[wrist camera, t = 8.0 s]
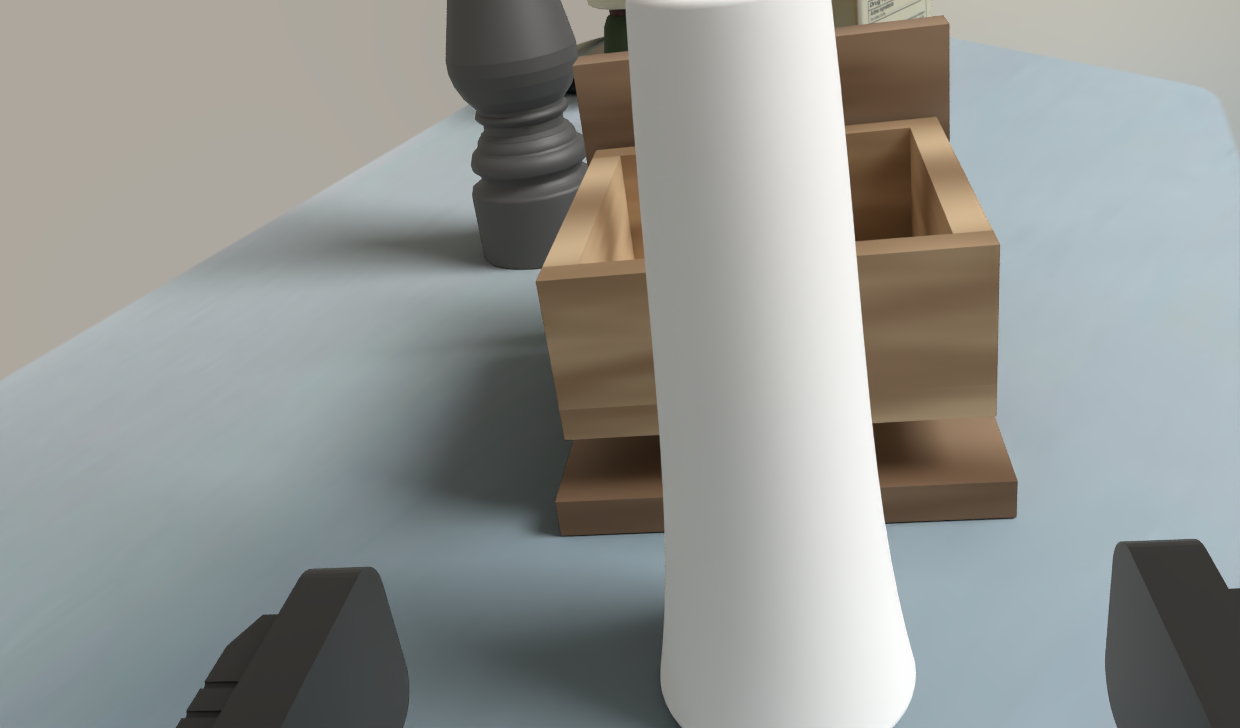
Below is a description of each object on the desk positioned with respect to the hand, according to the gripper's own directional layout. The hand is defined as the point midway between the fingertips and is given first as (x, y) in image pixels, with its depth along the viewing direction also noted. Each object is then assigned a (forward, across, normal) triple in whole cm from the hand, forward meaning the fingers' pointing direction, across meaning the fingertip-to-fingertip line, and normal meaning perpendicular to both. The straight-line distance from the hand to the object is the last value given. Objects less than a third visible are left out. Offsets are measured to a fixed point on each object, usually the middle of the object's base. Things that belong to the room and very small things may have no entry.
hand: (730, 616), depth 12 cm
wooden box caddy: (+23, 0, +11) cm, 26 cm away
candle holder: (+42, +12, +11) cm, 45 cm away
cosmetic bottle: (+11, 0, +11) cm, 16 cm away
